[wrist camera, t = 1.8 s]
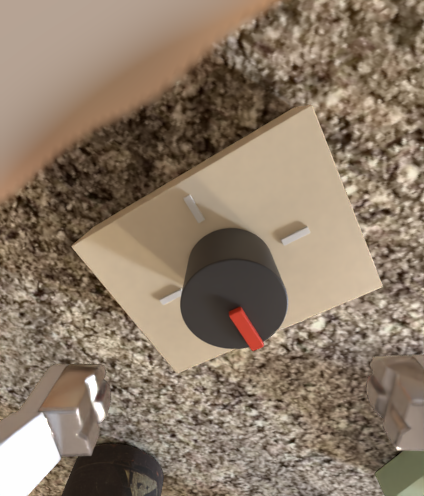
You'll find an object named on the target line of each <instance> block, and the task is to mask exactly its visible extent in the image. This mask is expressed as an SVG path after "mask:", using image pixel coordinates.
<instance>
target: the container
mask: <svg viewBox="0 0 424 496" xmlns="http://www.w3.org/2000/svg"><path fill="white" fill-rule="evenodd" d="M162 486H163V472H162V469H161V467H160V465H159V464H158V462H157V461H156V460H155V459H154V458H153V457H152V456H150V455H149V454H147V453H145V452H144V451H141V450H139V449H137V448H135V447H132V446H128V445H123V444H101V445H97V446H95V448H94V450H93V453H92V455H91V456H78V458H77V459H76V462H75V464H74V466H73V469H72V471H71V474H70V476H69V479H68V481H67V483H66V486H65V489H64V491H63V494H62V496H161V493H162Z"/></svg>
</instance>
